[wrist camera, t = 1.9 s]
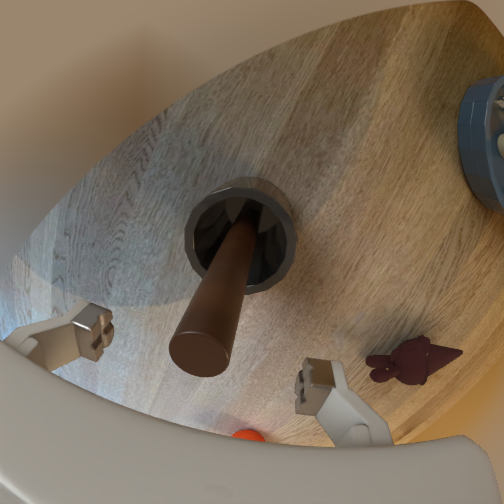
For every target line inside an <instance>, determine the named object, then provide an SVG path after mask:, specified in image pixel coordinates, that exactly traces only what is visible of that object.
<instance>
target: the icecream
mask: <svg viewBox="0 0 504 504" xmlns="http://www.w3.org/2000/svg"><path fill="white" fill-rule="evenodd" d="M461 354H463V351H462V350H459V349H453V348H448V347H443V346H438V345H434V344H430V339H429V338H428V337H425V336H424V335H421V336H418V337H417V338H415V339H411V340H406V341H405V342H403V343H402V344H400V345H399V347H398V348H396V349H394V350H393V352H392V354H391V356H389V355H374V356H369V357H367V358H366V364H367V365H368V366H369V367H373V368H376V369H373V370H372V371H371V373H370V377H371V379H372V380H373V381H374V382H378V383H381V382H386V381H388V380H389V379H391V378H393V377H395V378H396V379H398V380H399V381H400V382H402V383H404V384H407V385H417V384H420V385H424V384H425V383H426V381H427V377H428V376H430V375H431V374H433V373H434V372H436V371H438V370H439V369H441V368H442V367H444V366H445V365H447V364H448V363H450V362H451V361H453V360H454V359H456V358H457V357H459V356H460V355H461Z"/></svg>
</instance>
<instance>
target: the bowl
mask: <svg viewBox="0 0 504 504" xmlns="http://www.w3.org/2000/svg"><path fill="white" fill-rule="evenodd" d="M501 134H504V75H500V76H495V77H490V78H485V79H480V80H478V81H477V82H475V83H474V84H473V85H472V86H470V87H469V88H468V90H467V92H466V94H465V96H464V98H463V100H462V102H461V106H460V113H459V119H458V142H459V152H460V156H461V160H462V165H463V170H464V173H465V175H466V177H467V180H468V182H469V184H470V187H471V189H472V191H473V193H474V194H475V195H476V196H477V198H478V199H479V200H480V202H481V203H482V204H483V205H484V206H485V207H486V208H488V209H490V210H491V211H493V212H495V213H497V214H499V215H501V216H503V217H504V158H503V157H502V156H501V155H500V153H499V151H498V145H497V142H498V138H499V136H500V135H501Z"/></svg>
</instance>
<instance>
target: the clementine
mask: <svg viewBox="0 0 504 504" xmlns="http://www.w3.org/2000/svg"><path fill="white" fill-rule="evenodd" d="M231 437H236V438H242V439H248V440H254V441H261V442H265V440H264V438H263V437H262V436H261V435H260V434H259V433H257V432H255V431H252V430H242V431H238V432H236V433H235V434H233V435H232V436H231Z"/></svg>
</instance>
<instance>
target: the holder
mask: <svg viewBox="0 0 504 504" xmlns="http://www.w3.org/2000/svg"><path fill="white" fill-rule="evenodd" d="M244 209H252V210H254V211H256V212H257V213H258V215H259V217H260V225H259V230H258V234H257V239H256V243H255V248H254V253H253V257H252V262H251V266H250V271H249V275H248V280H247V285H246V289H245V294H244V295H249V294H253V293H257V292H261V291H265V290H268V289H269V288H271V287H272V286H274V285H275V284H276V283H278V282H279V281H281V280H282V279H283V278H284V277H285V275H286V274H287V272H288V271H289V269H290V267H291V266H292V264H293V263H294V260H295V256H296V249H297V241H298V238H297V233H296V229H295V224H294V220H293V215H292V212H291V209H290V205H289V202H288V200H287V198H286V197H285V195H284V194H283V193H282V192H281V190H280V189H279V188H278V187H277V186H275V185H274V184H272V183H271V182H269V181H267V180H264V179H261V178H258V177H240V178H236V179H233V180H231V181H228V182H226V183H224V184H223V185H221V186H220V187H218V188H217V189H216V190H214V191H213V192H211V193H210V194H209V195H208V196H206V197H205V198H204V199H203V200H202V201H201V202H200V203H199V204H198V205H197V206H196V207H194V209H193V210H192V212H191V214H190V217H189V219H188V221H187V224H186V226H185V252H186V254H187V256H188V259H189V261H190V263H191V266H192V268H193V269H194V270H195V272H196V273H197V274H198V275H199V276H200V277H201V278H202V279H203V277H204V276H205V274H206V272H207V270H208V268H209V266H210V264H211V263H212V261H213V259H214V257H215V255H216V253H217V252H218V250H219V248H220V246H221V244H222V242H223V241H224V239H225V237H226V235H227V233H228V232H229V230H230V228H231V226H232V224H233V223H234V221H235V219H236V217H237V216H238V214H239V213H240V212H241V211H242V210H244Z"/></svg>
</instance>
